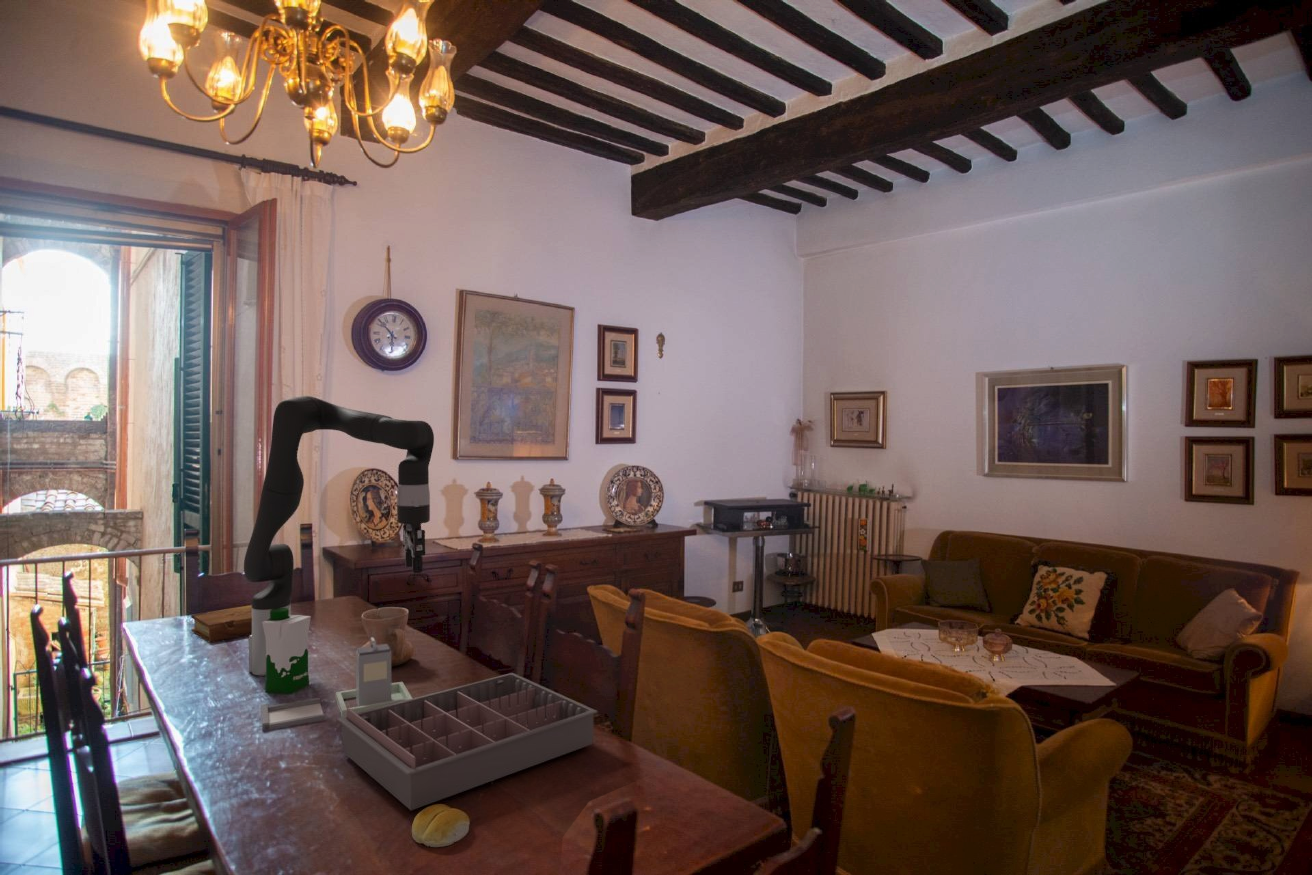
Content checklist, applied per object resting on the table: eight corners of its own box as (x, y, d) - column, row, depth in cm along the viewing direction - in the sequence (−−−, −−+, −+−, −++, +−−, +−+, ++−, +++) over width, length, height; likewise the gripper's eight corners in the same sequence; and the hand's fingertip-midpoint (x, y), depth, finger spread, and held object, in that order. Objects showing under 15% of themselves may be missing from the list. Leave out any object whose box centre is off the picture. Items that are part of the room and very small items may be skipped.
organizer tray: (598, 750, 150) (598, 701, 150) (408, 822, 123) (407, 762, 122) (512, 706, 173) (512, 663, 173) (336, 758, 146) (336, 707, 146)
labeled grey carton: (387, 696, 177) (387, 634, 176) (391, 703, 172) (391, 639, 172) (356, 701, 173) (355, 638, 173) (359, 708, 169) (358, 644, 169)
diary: (210, 644, 223) (209, 625, 223) (191, 632, 236) (191, 614, 235) (290, 628, 239) (290, 611, 239) (268, 618, 252) (268, 601, 252)
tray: (402, 691, 182) (402, 681, 182) (412, 709, 171) (412, 698, 171) (335, 702, 175) (335, 692, 175) (342, 722, 163) (342, 710, 163)
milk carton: (283, 684, 187) (283, 605, 187) (315, 687, 185) (315, 606, 185) (258, 697, 178) (257, 613, 178) (291, 699, 176) (291, 615, 176)
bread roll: (439, 814, 125) (439, 791, 125) (478, 830, 120) (477, 805, 120) (399, 837, 118) (398, 812, 118) (438, 855, 113) (437, 829, 113)
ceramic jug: (347, 662, 205) (346, 610, 204) (397, 650, 215) (397, 601, 214) (373, 679, 192) (373, 625, 191) (426, 666, 202) (426, 614, 201)
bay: (319, 706, 173) (319, 695, 172) (324, 724, 162) (324, 712, 162) (261, 715, 167) (261, 704, 167) (262, 735, 156) (262, 723, 156)
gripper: (392, 501, 185) (392, 566, 185) (403, 506, 172) (403, 576, 173) (423, 499, 188) (423, 563, 189) (436, 504, 176) (436, 573, 176)
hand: (413, 569), depth 181 cm, fingers open, 8 cm apart
